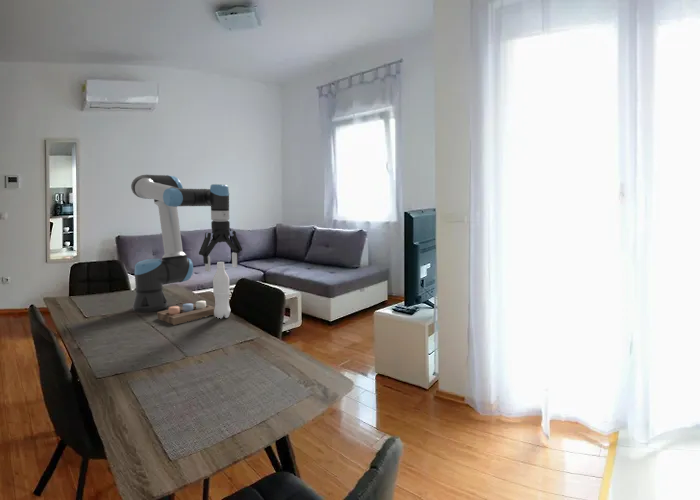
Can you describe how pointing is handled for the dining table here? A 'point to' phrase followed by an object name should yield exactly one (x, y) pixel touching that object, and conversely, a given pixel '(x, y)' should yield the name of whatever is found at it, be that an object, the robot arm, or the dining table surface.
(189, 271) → the robot arm
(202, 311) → the brown wooden tray
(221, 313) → the water bottle
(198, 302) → the cream rounded lump
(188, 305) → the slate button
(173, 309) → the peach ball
